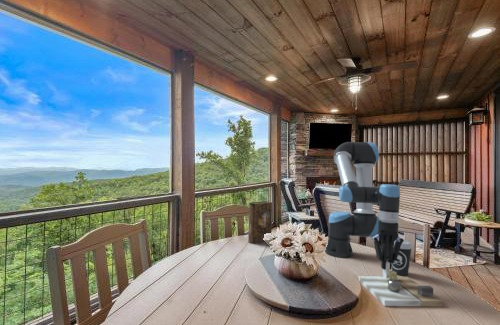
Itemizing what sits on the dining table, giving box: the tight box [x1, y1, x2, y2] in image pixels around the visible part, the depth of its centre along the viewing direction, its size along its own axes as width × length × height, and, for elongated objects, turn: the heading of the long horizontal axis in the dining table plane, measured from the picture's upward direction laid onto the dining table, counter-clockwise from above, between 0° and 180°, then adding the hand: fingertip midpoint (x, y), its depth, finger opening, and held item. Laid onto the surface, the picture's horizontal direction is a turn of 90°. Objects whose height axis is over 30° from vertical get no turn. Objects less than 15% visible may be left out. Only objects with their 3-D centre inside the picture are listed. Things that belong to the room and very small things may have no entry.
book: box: [247, 200, 273, 245], centre depth 167 cm, size 16×6×25 cm, turn 130°
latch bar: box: [388, 270, 400, 292], centre depth 105 cm, size 14×4×3 cm, turn 153°
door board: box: [358, 275, 445, 307], centre depth 103 cm, size 20×22×5 cm
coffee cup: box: [391, 239, 413, 277], centre depth 122 cm, size 10×10×15 cm
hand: (385, 276), depth 109 cm, fingers closed
